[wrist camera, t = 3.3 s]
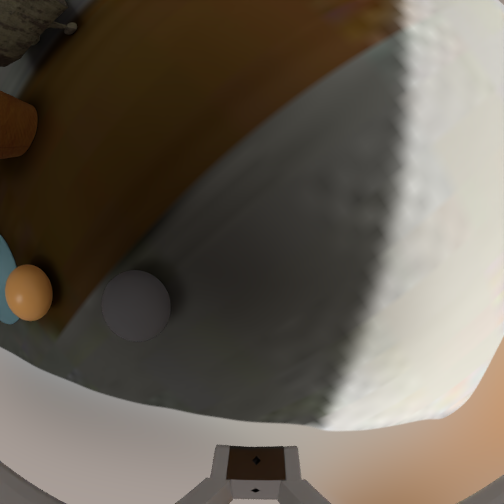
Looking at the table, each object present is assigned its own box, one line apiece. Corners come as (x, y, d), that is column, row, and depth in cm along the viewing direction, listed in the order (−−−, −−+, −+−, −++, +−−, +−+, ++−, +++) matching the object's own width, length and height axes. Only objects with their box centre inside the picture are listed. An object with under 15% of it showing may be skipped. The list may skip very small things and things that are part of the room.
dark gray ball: (125, 319, 25) (97, 349, 19) (117, 260, 23) (82, 281, 18) (181, 324, 25) (162, 360, 19) (176, 262, 23) (151, 286, 18)
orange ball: (34, 305, 25) (4, 325, 19) (25, 257, 24) (-10, 271, 18) (67, 310, 25) (36, 334, 19) (57, 258, 24) (20, 275, 18)
